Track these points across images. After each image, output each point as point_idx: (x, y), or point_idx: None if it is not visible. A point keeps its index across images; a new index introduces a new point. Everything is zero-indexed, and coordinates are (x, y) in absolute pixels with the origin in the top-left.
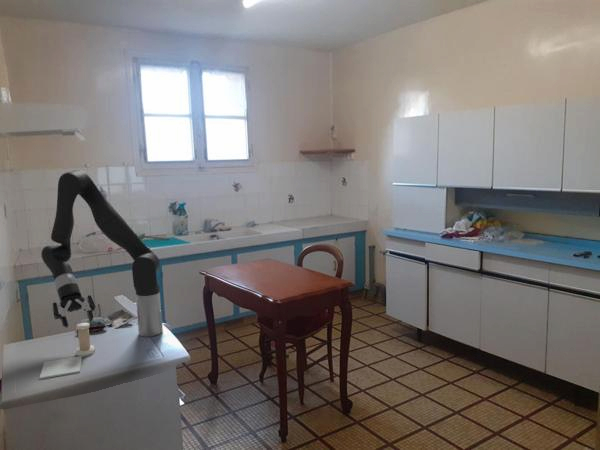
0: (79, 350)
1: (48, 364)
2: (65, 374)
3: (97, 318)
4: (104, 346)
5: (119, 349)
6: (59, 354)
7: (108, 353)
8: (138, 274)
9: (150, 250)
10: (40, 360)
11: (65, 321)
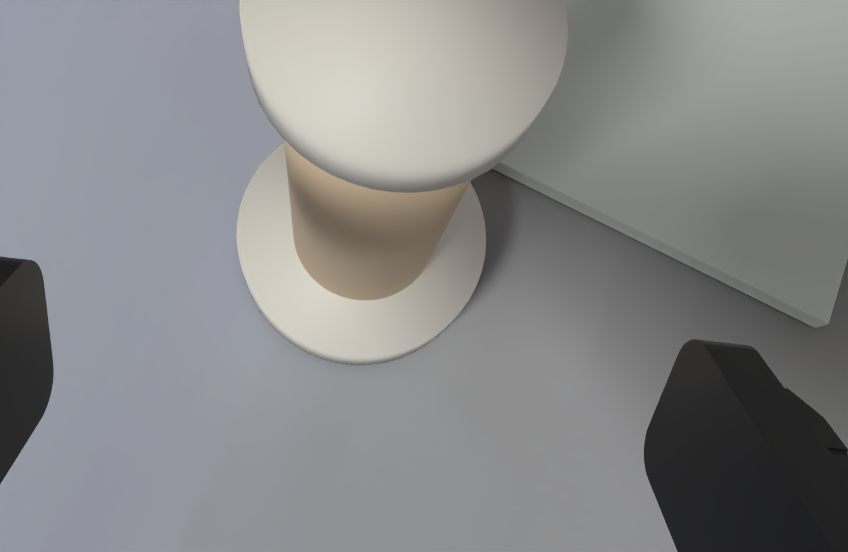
0: (441, 240)
1: (802, 228)
2: None
3: None
4: (85, 248)
5: (18, 7)
6: (615, 473)
7: (177, 13)
8: None
9: None
10: None
11: (796, 413)
